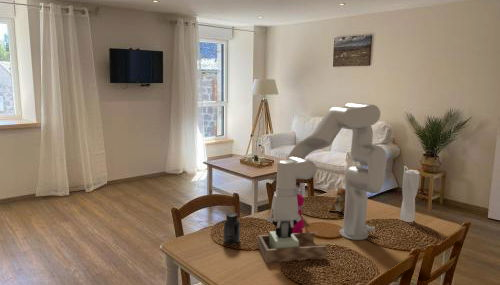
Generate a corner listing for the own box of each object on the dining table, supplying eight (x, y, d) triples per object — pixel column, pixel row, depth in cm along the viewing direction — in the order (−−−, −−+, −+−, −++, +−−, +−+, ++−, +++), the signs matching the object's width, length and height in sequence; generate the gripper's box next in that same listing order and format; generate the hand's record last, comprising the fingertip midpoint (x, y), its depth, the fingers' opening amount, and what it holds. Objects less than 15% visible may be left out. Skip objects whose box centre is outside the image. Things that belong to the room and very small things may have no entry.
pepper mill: (303, 237, 165) (305, 194, 162) (286, 235, 167) (288, 192, 164) (304, 231, 172) (306, 189, 169) (288, 229, 174) (290, 188, 170)
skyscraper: (395, 220, 189) (400, 166, 184) (402, 217, 194) (407, 164, 189) (410, 225, 183) (416, 169, 179) (417, 221, 188) (423, 167, 184)
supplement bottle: (242, 241, 160) (243, 214, 158) (231, 246, 155) (232, 218, 153) (231, 236, 164) (232, 210, 162) (220, 241, 160) (220, 214, 158)
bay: (312, 243, 160) (313, 232, 159) (325, 258, 146) (326, 246, 145) (258, 246, 155) (258, 235, 154) (266, 262, 141) (266, 250, 141)
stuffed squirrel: (326, 211, 199) (328, 187, 197) (339, 205, 210) (341, 183, 208) (343, 216, 193) (345, 192, 191) (356, 210, 203) (358, 186, 201)
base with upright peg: (289, 243, 156) (290, 216, 154) (298, 255, 145) (299, 226, 143) (268, 245, 154) (269, 217, 152) (275, 257, 144) (277, 227, 142)
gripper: (302, 188, 151) (300, 231, 154) (262, 189, 148) (261, 233, 151) (309, 194, 144) (306, 239, 147) (267, 195, 140) (265, 241, 143)
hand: (283, 235), depth 149 cm, fingers closed on base with upright peg, 3 cm apart
